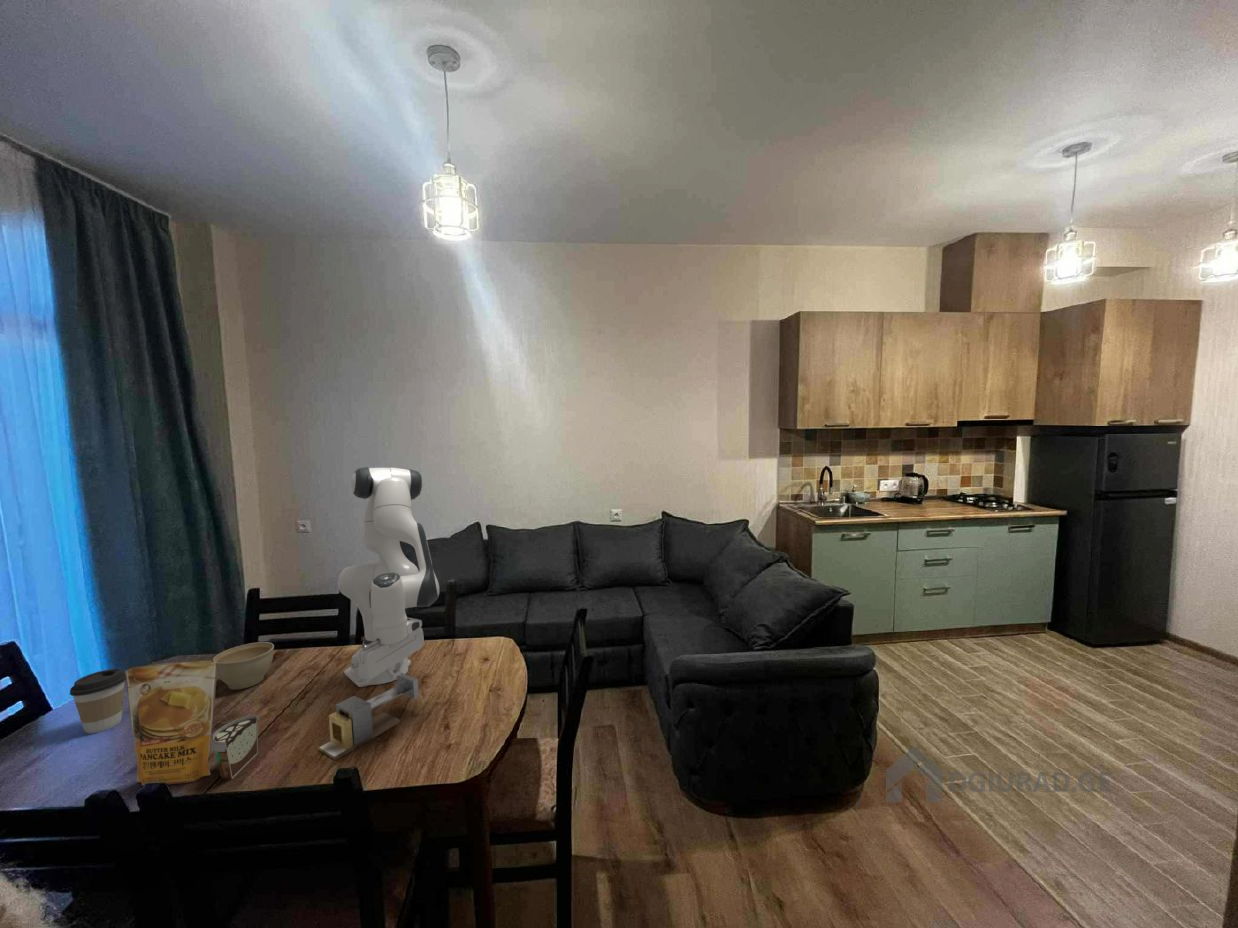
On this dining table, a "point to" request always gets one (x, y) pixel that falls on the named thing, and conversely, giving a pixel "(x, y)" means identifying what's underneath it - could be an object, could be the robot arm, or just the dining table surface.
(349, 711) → the block
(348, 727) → the spacer
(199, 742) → the pancake mix bag
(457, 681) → the dining table surface
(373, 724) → the rig base
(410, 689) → the shaft
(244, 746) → the food container
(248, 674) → the planter bowl
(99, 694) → the coffee cup
